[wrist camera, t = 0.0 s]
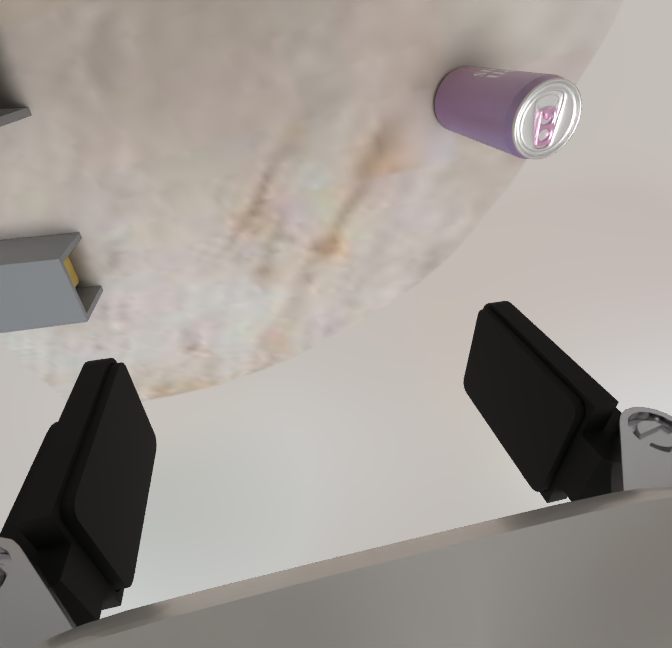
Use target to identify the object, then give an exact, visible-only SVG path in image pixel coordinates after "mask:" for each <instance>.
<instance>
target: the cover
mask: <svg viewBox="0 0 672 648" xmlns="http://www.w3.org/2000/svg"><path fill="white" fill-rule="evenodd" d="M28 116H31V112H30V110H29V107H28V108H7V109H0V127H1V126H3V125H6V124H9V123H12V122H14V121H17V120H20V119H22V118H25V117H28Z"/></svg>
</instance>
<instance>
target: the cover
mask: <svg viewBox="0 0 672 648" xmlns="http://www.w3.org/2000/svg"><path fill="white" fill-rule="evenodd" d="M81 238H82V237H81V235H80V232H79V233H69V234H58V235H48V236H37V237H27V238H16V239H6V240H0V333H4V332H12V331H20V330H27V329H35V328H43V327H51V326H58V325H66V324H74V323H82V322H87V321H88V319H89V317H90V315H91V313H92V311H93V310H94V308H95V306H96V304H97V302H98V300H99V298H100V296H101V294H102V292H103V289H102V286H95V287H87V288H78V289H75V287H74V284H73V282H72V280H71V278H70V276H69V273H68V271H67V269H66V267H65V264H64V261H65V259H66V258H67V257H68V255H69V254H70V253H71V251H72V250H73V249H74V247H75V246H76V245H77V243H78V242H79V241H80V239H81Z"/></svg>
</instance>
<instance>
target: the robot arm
mask: <svg viewBox="0 0 672 648" xmlns="http://www.w3.org/2000/svg"><path fill="white" fill-rule="evenodd" d="M464 388H465V391H466V392H467V394H468V396H469V397H470V399H471V400H472V402H473V403H474V405H475V406H476V407H477V409H478V410H479V412H480V413H481V414H482V416H483V418H484V419H485V421H486V422H487V424H488V425H489V426H490V428H491V429H492V431H493V432H494V434H495V435H496V437H497V438H498V440H499V441H500V443H501V444H502V446H503V447H504V448H505V450H506V451H507V453H508V454H509V456H510V457H511V459H512V460H513V462H514V463H515V465H516V466H517V467H518V469H519V470H520V472H521V473H522V475H523V476H524V478H525V479H526V481H527V482H528V484H529V485H530V486H531V488H532V489H533V490H535V491H537V492H540V493H541V495H542V496H543V498H544V499H545V501H546V502H547V503H550V502H554V501H558V500H562V499H566V498H567V496H568V497H569V499H570V500H571V501H572V502H567V503H563V504H558V505H554V506H549V507H545V508H541V509H537V510H532V511H528V512H524V513H520V514H516V515H511V516H507V517H503V518H498V519H494V520H490V521H486V522H482V523H477V524H473V525H469V526H464V527H460V528H456V529H452V530H448V531H444V532H440V533H435V534H432V535H427V536H423V537H419V538H415V539H410V540H406V541H402V542H398V543H394V544H390V545H386V546H382V547H377V548H373V549H369V550H365V551H361V552H357V553H353V554H349V555H345V556H340V557H336V558H332V559H328V560H324V561H320V562H316V563H312V564H308V565H303V566H300V567H295V568H292V569H288V570H283V571H279V572H275V573H271V574H267V575H263V576H259V577H255V578H251V579H247V580H243V581H239V582H235V583H231V584H227V585H223V586H219V587H215V588H211V589H207V590H203V591H199V592H195V593H192V594H188V595H184V596H180V597H176V598H173V599H169V600H165V601H161V602H158V603H154V604H150V605H146V606H142V607H139V608H135V609H131V610H128V611H124V612H121V613H118V614H115V615H112V616H109V617H105V618H102V619H100V614H101V610H104V609H108V608H112V607H117V606H120V605H121V602H122V597H123V592H124V588H128V587H130V586H131V585H132V582H133V578H134V573H135V568H136V562H137V556H138V550H139V545H140V539H141V533H142V528H143V522H144V516H145V511H146V505H147V499H148V493H149V487H150V482H151V476H152V471H153V465H154V459H155V453H156V437H155V434H154V431H153V429H152V427H151V424H150V422H149V420H148V417H147V415H146V413H145V410H144V408H143V406H142V403H141V401H140V398H139V396H138V394H137V391H136V389H135V387H134V384H133V382H132V380H131V377H130V375H129V372H128V370H127V368H126V366H125V364H124V363H117V362H116V360H115V359H114V358H108V359H101V360H94V361H87V362H85V364H84V365H83V367H82V370H81V372H80V374H79V376H78V379H77V381H76V383H75V385H74V387H73V390H72V392H71V394H70V396H69V399H68V401H67V403H66V405H65V408H64V410H63V412H62V415H61V417H60V419H59V421H58V422H56V423H54V424H53V425H52V426H51V427H50V428H49V430H48V432H47V434H46V436H45V438H44V440H43V443H42V445H41V447H40V449H39V451H38V454H37V455H36V457H35V460H34V462H33V464H32V466H31V468H30V471H29V473H28V475H27V477H26V479H25V481H24V484H23V486H22V488H21V490H20V492H19V494H18V496H17V499H16V501H15V503H14V505H13V507H12V509H11V511H10V514H9V516H8V518H7V520H6V522H5V524H4V527H3V529H2V531H1V533H0V648H672V417H671V416H670V415H668V414H666V413H663V412H660V411H658V410H655V409H650V408H645V407H633V408H629V409H626V410H625V411H624V412H623V413H621V412H620V411H619V410H618V409H617V408H616V406H617V404H618V401H617V400H616V399H615V398H614V397H613V396H611V395H610V394H609V393H608V392H607V391H606V390H605V389H604V388H603V387H602V386H601V385H600V384H598V383H597V382H596V381H595V380H594V379H593V378H591V376H590V375H589V374H588V373H586V372H585V371H584V370H583V369H582V368H581V367H580V366H579V365H578V364H577V363H576V362H575V361H573V360H572V359H571V358H570V357H569V356H568V355H567V354H566V353H565V352H564V351H562V350H561V349H560V348H559V347H558V346H557V345H556V344H555V343H554V342H553V341H552V340H551V339H550V338H548V337H547V336H546V335H545V334H544V333H543V332H542V331H541V330H540V329H539V328H537V327H536V326H535V325H534V324H533V323H532V322H531V321H530V320H529V319H528V318H527V317H525V316H524V315H523V314H522V313H521V312H520V311H519V310H518V309H517V308H516V307H515V306H514V305H512V304H511V303H510V302H508V301H502V302H495V303H488V304H486V305H485V306H484V308H483V309H482V310H480V311H479V313H478V317H477V321H476V326H475V330H474V335H473V340H472V345H471V349H470V353H469V358H468V362H467V367H466V372H465V376H464Z"/></svg>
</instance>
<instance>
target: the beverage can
mask: <svg viewBox="0 0 672 648" xmlns="http://www.w3.org/2000/svg"><path fill="white" fill-rule="evenodd" d="M581 110H582V101H581V96H580V93H579V90H578V88H577V87H576V86H575V85H574V84H573V83H572V82H571V81H569V80H566V79H564V78H562V77H561V76H558V75H553V74H542V73H532V72H522V71H512V70H501V69H491V68H481V67H470V66H464V67H460V68H457V69H455V70H453V71H452V72H451V73H449V74H448V75H447V76H446V77H445V78H444V80H443V81H442V83H441V84H440V86H439V88H438V91H437V94H436V98H435V113H436V117H437V119H438V121H439V122H440V124H441V125H442V126H443V127H444V128H446V129H448V130H450V131H453V132H455V133H458V134H461V135H463V136H466V137H468V138H471V139H473V140H476V141H478V142H481V143H483V144H486V145H489V146H491V147H494V148H496V149H499V150H501V151H504V152H506V153H509V154H511V155H514V156H516V157H519V158H523V159H542V158H546V157H548V156H550V155H552V154H554V153H556V152H557V151H558V150H560V149H561V148H562V147H563V146H564V145H565V144H566V143H567V142H568V140H569V139H570V138H571V136H572V135H573V133H574V131H575V129H576V127H577V125H578V122H579V119H580V115H581Z"/></svg>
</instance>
